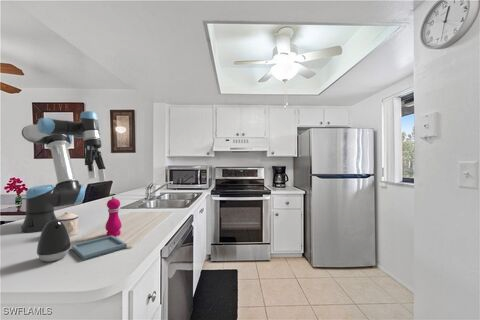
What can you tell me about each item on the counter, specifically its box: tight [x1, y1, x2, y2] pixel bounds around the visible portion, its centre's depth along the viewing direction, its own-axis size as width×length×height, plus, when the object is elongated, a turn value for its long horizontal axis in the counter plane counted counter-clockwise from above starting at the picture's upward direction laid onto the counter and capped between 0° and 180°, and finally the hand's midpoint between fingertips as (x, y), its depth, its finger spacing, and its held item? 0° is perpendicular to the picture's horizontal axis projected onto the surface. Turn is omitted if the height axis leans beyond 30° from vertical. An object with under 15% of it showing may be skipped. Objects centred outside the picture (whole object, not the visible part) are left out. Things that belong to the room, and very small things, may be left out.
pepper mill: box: [104, 195, 123, 237], centre depth 115 cm, size 7×7×20 cm
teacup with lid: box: [56, 211, 79, 237], centre depth 114 cm, size 12×9×12 cm
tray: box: [71, 235, 128, 262], centre depth 97 cm, size 16×16×2 cm
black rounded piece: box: [36, 220, 72, 262], centre depth 88 cm, size 10×10×15 cm
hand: (97, 179), depth 115 cm, fingers open, 13 cm apart
